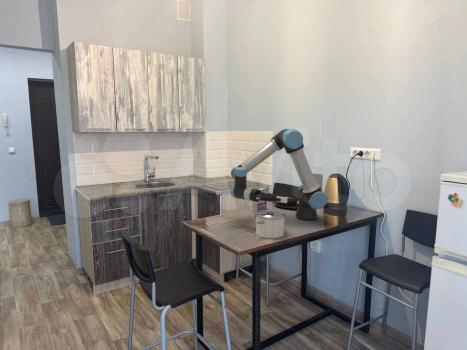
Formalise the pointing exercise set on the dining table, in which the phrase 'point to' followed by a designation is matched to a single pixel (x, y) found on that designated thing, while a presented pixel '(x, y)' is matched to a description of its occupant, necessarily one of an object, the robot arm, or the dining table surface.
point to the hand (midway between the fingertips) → (286, 200)
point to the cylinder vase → (318, 179)
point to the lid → (270, 214)
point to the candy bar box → (260, 202)
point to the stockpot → (269, 227)
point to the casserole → (288, 202)
